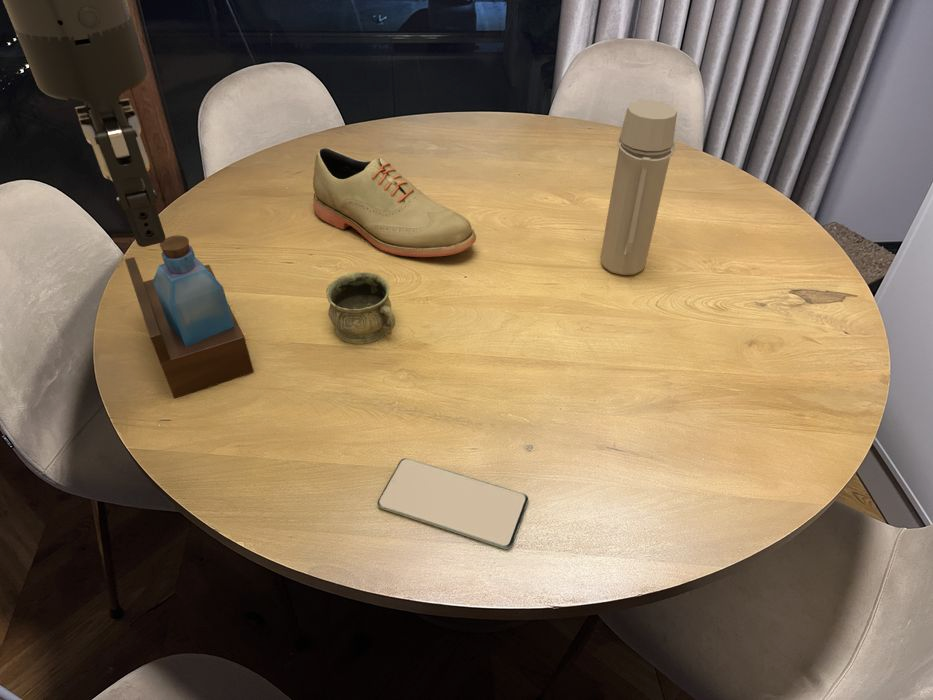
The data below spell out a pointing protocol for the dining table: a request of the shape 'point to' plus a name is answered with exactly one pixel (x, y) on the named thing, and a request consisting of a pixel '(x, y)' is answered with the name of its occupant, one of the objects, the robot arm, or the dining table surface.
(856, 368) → the dining table surface
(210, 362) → the wooden display stand
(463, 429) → the dining table surface
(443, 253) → the oxford shoe
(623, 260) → the water bottle
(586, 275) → the dining table surface
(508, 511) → the smartphone
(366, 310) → the vessel
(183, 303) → the perfume bottle
